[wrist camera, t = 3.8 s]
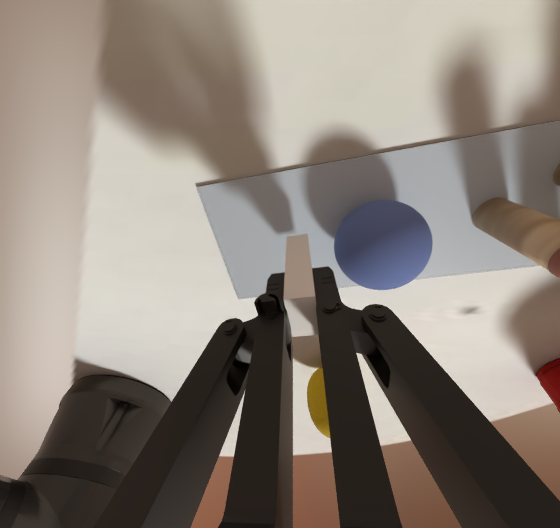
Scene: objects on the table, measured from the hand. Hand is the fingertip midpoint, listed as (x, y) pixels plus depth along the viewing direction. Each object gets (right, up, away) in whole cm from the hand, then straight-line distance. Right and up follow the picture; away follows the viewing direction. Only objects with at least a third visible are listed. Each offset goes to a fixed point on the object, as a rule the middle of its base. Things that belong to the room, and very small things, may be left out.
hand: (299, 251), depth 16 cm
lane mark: (+8, +2, +1) cm, 8 cm away
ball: (+5, 0, -1) cm, 5 cm away
